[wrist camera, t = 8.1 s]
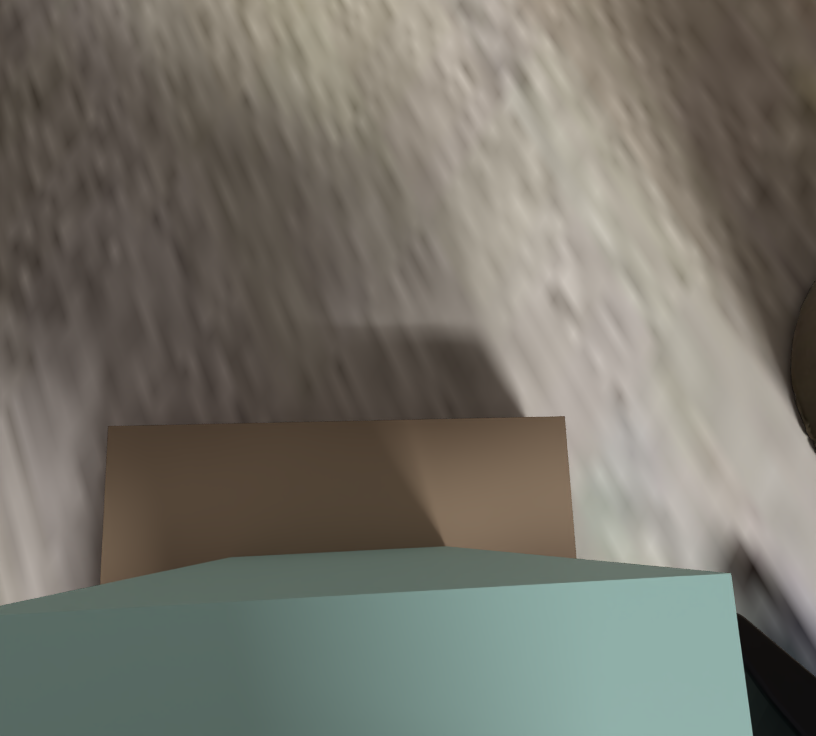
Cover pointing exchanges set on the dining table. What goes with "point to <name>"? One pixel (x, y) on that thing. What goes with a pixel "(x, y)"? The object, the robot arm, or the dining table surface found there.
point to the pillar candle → (805, 363)
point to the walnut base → (332, 489)
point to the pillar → (380, 649)
